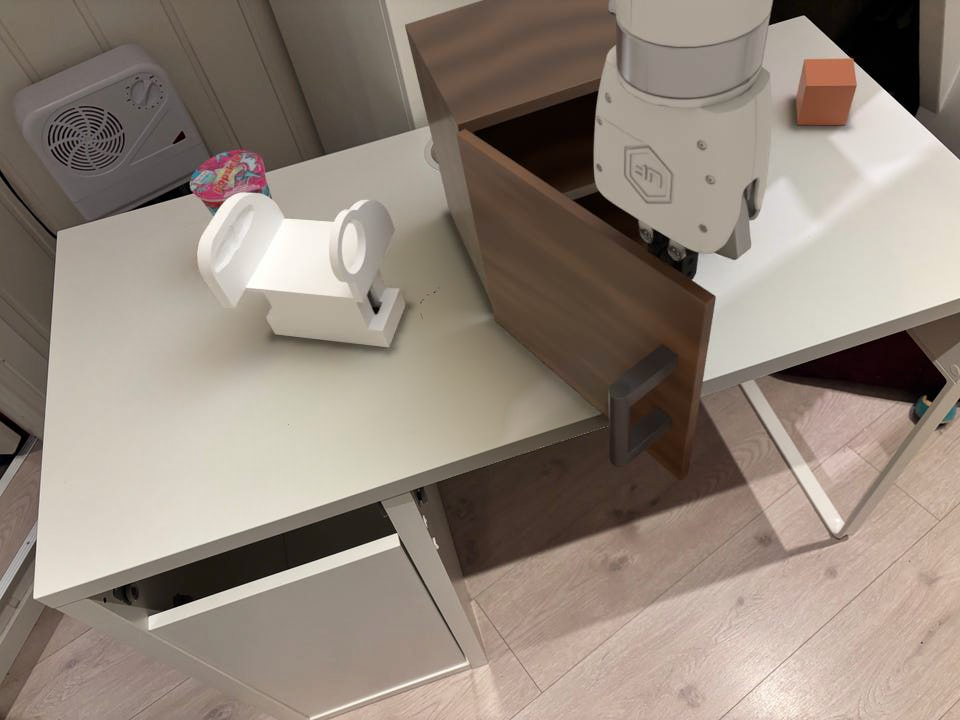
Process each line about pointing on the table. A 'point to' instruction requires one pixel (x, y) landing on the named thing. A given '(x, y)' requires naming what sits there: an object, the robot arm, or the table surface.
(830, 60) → the block
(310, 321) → the tape dispenser
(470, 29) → the cupboard
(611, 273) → the cupboard door
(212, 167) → the cup
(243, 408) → the table surface
